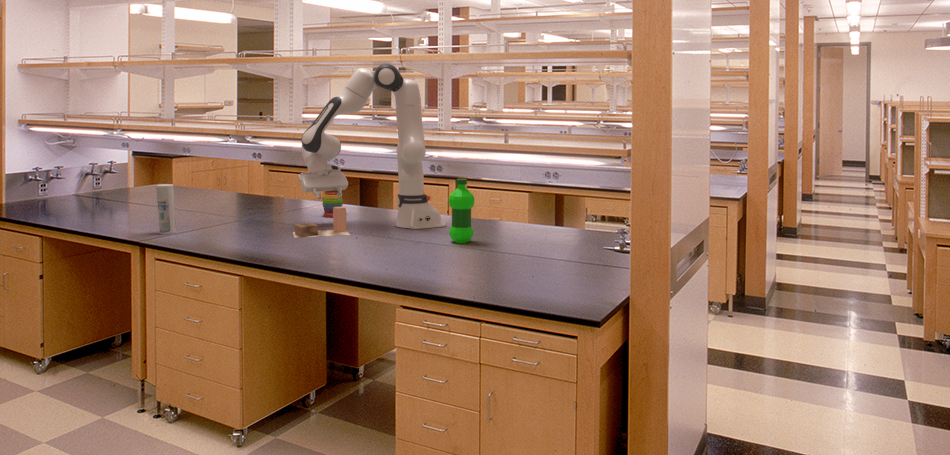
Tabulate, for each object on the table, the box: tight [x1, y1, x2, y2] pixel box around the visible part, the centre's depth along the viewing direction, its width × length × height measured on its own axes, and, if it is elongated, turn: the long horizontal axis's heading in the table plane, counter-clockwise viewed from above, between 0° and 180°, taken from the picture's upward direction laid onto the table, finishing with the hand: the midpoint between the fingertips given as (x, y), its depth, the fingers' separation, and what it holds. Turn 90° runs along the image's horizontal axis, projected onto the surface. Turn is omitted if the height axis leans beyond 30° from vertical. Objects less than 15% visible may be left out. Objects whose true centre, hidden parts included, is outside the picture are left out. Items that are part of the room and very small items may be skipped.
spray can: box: [155, 183, 177, 235], centre depth 290 cm, size 6×6×20 cm
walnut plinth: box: [294, 222, 319, 238], centre depth 285 cm, size 7×7×4 cm
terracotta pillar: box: [332, 205, 348, 232], centre depth 292 cm, size 4×4×10 cm
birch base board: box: [292, 229, 351, 239], centre depth 288 cm, size 22×12×1 cm, turn 108°
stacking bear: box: [322, 190, 347, 219], centre depth 336 cm, size 11×10×18 cm
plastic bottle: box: [448, 178, 475, 244], centre depth 277 cm, size 10×10×25 cm
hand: (329, 197), depth 298 cm, fingers open, 8 cm apart
